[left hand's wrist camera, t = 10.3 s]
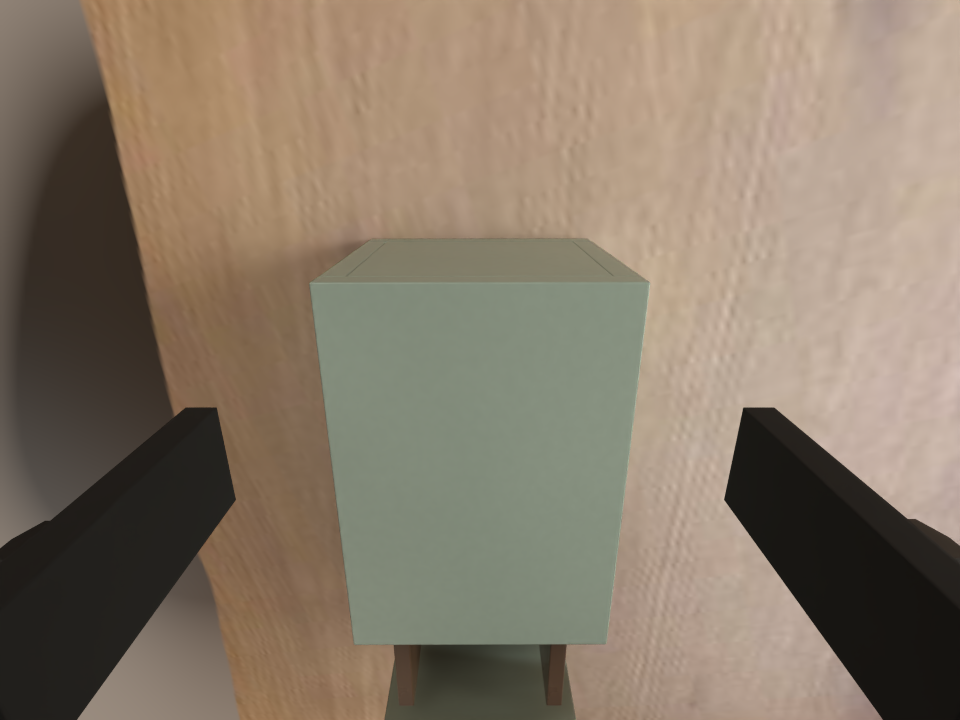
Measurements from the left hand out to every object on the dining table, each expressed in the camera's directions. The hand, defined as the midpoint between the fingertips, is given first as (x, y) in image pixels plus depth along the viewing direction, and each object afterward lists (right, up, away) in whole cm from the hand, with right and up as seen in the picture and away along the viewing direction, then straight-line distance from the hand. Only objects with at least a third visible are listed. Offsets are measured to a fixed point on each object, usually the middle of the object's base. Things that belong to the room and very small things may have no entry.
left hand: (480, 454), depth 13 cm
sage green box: (0, +1, +17) cm, 17 cm away
